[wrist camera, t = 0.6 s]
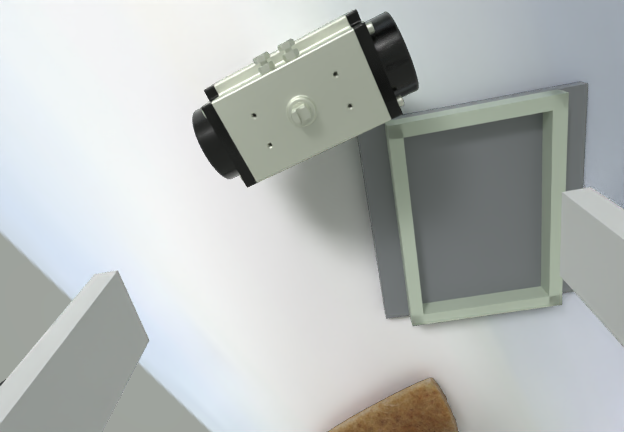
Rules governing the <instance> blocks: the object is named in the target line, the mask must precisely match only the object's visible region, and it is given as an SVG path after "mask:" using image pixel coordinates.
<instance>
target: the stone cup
mask: <svg viewBox="0 0 624 432" xmlns="http://www.w3.org/2000/svg"><path fill="white" fill-rule="evenodd" d="M328 432H458V429H457V424H456V421H455V418H454V416H453V414H452V411H451V408H450V406H449V404H448V403H447V398H446V396H445V395H444V394H443V392H442V390H441V389H440V387H439V385H438V384H437V383H436V382H435V380H434V379H433V378H428V379H425V380H423V381H420V382H418V383H416V384H414V385H411V386H409V387H407V388H405V389H403V390H401V391H399V392H397V393H395V394H393V395H391V396H389V397H387V398H385V399H383V400H382V401H380V402H378V403H376V404H374V405H372V406H370V407H368V408H366V409H365V410H363V411H361V412H359V413H358V414H356V415H354V416H352V417H350V418H349V419H347V420H346V421H344V422H342V423H341V424H339V425H337V426H336V427H334V428H333V429H331V430H329V431H328Z"/></svg>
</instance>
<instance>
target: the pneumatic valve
mask: <svg viewBox="0 0 624 432" xmlns="http://www.w3.org/2000/svg"><path fill="white" fill-rule="evenodd" d="M253 61H254V63H252V64H250V65H248V66H246V67H244V68H242V69H241V70H239V71H237V72H235V73H233V74H231V75H229V76H227V77H226V78H224V79H222V80H220V81H218V82H216V83H214V84H213V85H211V86H210V87H208V88H207V89H205V90H204V92H205V93H206V95H207V97H208V99H209V102H208V103H206V104H205V105H204V106H202V107H201V108H200V109H198V110H196V111H195V112H194V113H193V117H192V122H193V128H194V132H195V135H196V137H197V140H198V142H199V144H200V147H201V149H202V151H203V152H204V154H205V156H206V157H207V159H208V160H209V162H210V163H211V165H212V166H213V167H214V168H215V170H216V171H217V172H218V173H219V174H220V175H222V176H223V177H225V178H227V179H233V178H235V177H237V176H239V175H240V178H241V179H242V180H243V181H244V183H245V185H246V186H247V187H250V186H252V185H254V184H256V183H258V182H260V181H262V180H264V179H267V178H269V177H271V176H273V175H275V174H277V173H279V172H281V171H284V170H286V169H288V168H290V167H292V166H294V165H296V164H298V163H301V162H303V161H305V160H307V159H309V158H311V157H313V156H315V155H318V154H320V153H322V152H324V151H326V150H328V149H330V148H332V147H335V146H337V145H339V144H341V143H343V142H345V141H347V140H349V139H352V138H354V137H356V136H358V135H360V134H362V133H364V132H366V131H368V130H371V129H373V128H375V127H377V126H379V125H381V124H383V123H385V122H388V121H390V120H391V119H394V118H396V117H398V116H400V115H402V111H401V109H400V107H401V106H403V105H404V101H403V99H402V97H404V96H406V95H408V94H410V93H412V92H414V91H417V90H418V88H419V84H418V79H417V75H416V71H415V68H414V65H413V62H412V59H411V57H410V54H409V52H408V49H407V47H406V44H405V42H404V40H403V37H402V35H401V33H400V31H399V29H398V27H397V25H396V23H395V21H394V20H393V18H392V16H391V15H390V14H389V13H388V12H384V13H382V14H380V15H378V16H376V17H374V18H372V19H370V20H368V21H366V22H364V21H361V19H360V17H359V14H358V12H357V10H356V9H355V10H352V11H350V12H348V13H346V14H344V15H342V16H340V17H338V18H337V19H335V20H333V21H331V22H329V23H327V24H325V25H323V26H322V27H320V28H318V29H316V30H314V31H312V32H310V33H308V34H306V35H305V36H303V37H301V38H299V39H297V40H295V41H294V40H293V39H289V40H287V41H285V42H284V43H282V44H280V45H278V50H276V51H274V52H273V53H271V54H269V53H268V52H265V53H263V54H261V55H259V56H257V57H256V58H254V59H253Z"/></svg>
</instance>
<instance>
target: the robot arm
mask: <svg viewBox="0 0 624 432" xmlns="http://www.w3.org/2000/svg"><path fill="white" fill-rule="evenodd" d="M560 276H561V277H562V279H563V280H564V281H565V282H566V283H567V284H568V285H569V286H570V288H571V289H572V290H573V291H574V292H575V293H576V294H577V295H578V297H579V298H580V299H581V300H582V301H583V302H584V303H585V304H586V306H587V307H588V308H589V309H590V310H591V311H592V312H593V313H594V314H595V316H596V317H597V318H598V319H599V320H600V321H601V322H602V323H603V325H604V326H605V327H606V328H607V329H608V330H609V331H610V332H611V334H612V335H613V336H614V337H615V338H616V339H617V340H618V341H619V343H620V344H621V345H622V346H623V347H624V209H623V208H621V207H620V206H618V205H617V204H615V203H614V202H612V201H611V200H609V199H608V198H606V197H605V196H603V195H602V194H600V193H599V192H597V191H596V190H594V189H593V188H591V187H588V188H582V189H577V190H571V191H565V192H562V207H561V245H560ZM148 342H149V339H148V336H147V334H146V332H145V330H144V327H143V325H142V323H141V321H140V319H139V316H138V314H137V312H136V310H135V307H134V305H133V303H132V301H131V299H130V296H129V294H128V292H127V290H126V288H125V285H124V283H123V281H122V279H121V276H120V274H119V272H118V270H117V271H111V272H105V273H100V274H94V275H93V277H92V278H91V279H90V280H89V281H88V283H87V284H86V285H85V286H84V287H83V289H82V290H81V291H80V292H79V293H78V295H77V296H76V297H75V298H74V299H73V300H72V302H71V303H70V304H69V305H68V307H67V308H66V309H65V310H64V311H63V312H62V314H61V315H60V316H59V317H58V319H57V320H56V321H55V322H54V323H53V324H52V325H51V327H50V328H49V329H48V330H47V331H46V333H45V334H44V335H43V336H42V337H41V339H40V340H39V341H38V342H37V344H36V345H35V346H34V347H33V348H32V349H31V351H30V352H29V353H28V354H27V355H26V356H25V358H24V359H23V360H22V361H21V363H20V364H19V365H18V366H17V367H16V369H14V371H13V372H12V373H11V374H10V376H9V377H8V378H7V379H5V380H4V381H3V382H1V383H0V432H103V430H104V428H105V426H106V424H107V422H108V420H109V418H110V416H111V414H112V412H113V410H114V409H115V406H116V404H117V403H118V401H119V399H120V397H121V395H122V393H123V391H124V389H125V387H126V385H127V383H128V381H129V379H130V377H131V375H132V373H133V371H134V369H135V367H136V365H137V363H138V362H139V360H140V358H141V356H142V354H143V352H144V350H145V348H146V346H147V344H148Z"/></svg>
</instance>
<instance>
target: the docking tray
mask: <svg viewBox="0 0 624 432" xmlns="http://www.w3.org/2000/svg"><path fill="white" fill-rule="evenodd" d="M587 96H588V83H584V82H576V83H570V84H565V85H560V86H554V87H549V88H544V89H538V90H533V91H528V92H522V93H517V94H512V95H506V96H501V97H496V98H490V99H485V100H480V101H474V102H469V103H464V104H458V105H453V106H448V107H442V108H437V109H432V110H426V111H421V112H416V113H410V114H405V115H400V116H398V117H396V118H394V119H391V120H390V121H388V122H385V123H383V124H381V125H379V126H377V127H375V128H373V129H371V130H368V131H366V132H364V133H362V134H360V135H358V142H359V149H360V155H361V162H362V168H363V175H364V181H365V187H366V194H367V200H368V207H369V213H370V220H371V226H372V232H373V239H374V245H375V252H376V258H377V265H378V271H379V277H380V284H381V290H382V297H383V303H384V310H385V315H386V319H387V318H394V317H401V316H408V315H410V319H411V322H412V326H417V325H424V324H431V323H438V322H445V321H452V320H459V319H466V318H473V317H480V316H487V315H494V314H501V313H508V312H515V311H522V310H529V309H536V308H543V307H550V306H557V305H562V293H566V292H572V291H573V290H572V289H571V288H570V286H569V285H568V284H567V283H566V282H565V281H564V280H563V279H562V277H561V276H560V245H561V207H562V192H565V191H571V190H577V189H582V188H583V177H584V157H585V137H586V117H587Z"/></svg>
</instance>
